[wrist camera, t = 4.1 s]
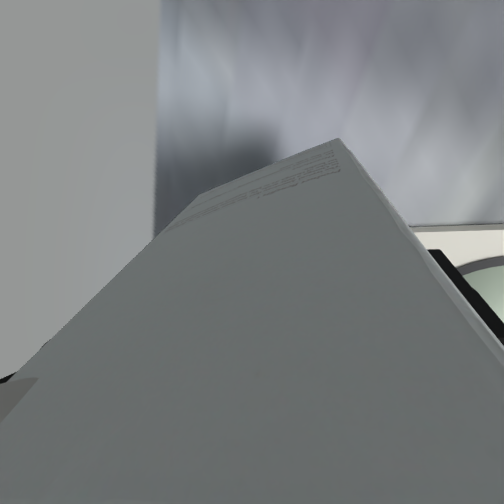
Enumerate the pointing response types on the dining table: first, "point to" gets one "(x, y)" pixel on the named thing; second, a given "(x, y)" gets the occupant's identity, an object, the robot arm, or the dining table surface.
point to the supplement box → (268, 362)
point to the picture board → (472, 256)
